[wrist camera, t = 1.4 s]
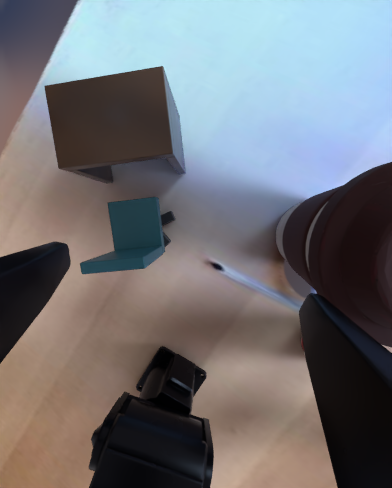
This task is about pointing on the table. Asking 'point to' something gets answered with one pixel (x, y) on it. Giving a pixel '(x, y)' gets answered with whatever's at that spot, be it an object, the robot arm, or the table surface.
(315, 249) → the coffee cup
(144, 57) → the table surface
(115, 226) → the office chair
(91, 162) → the desk
